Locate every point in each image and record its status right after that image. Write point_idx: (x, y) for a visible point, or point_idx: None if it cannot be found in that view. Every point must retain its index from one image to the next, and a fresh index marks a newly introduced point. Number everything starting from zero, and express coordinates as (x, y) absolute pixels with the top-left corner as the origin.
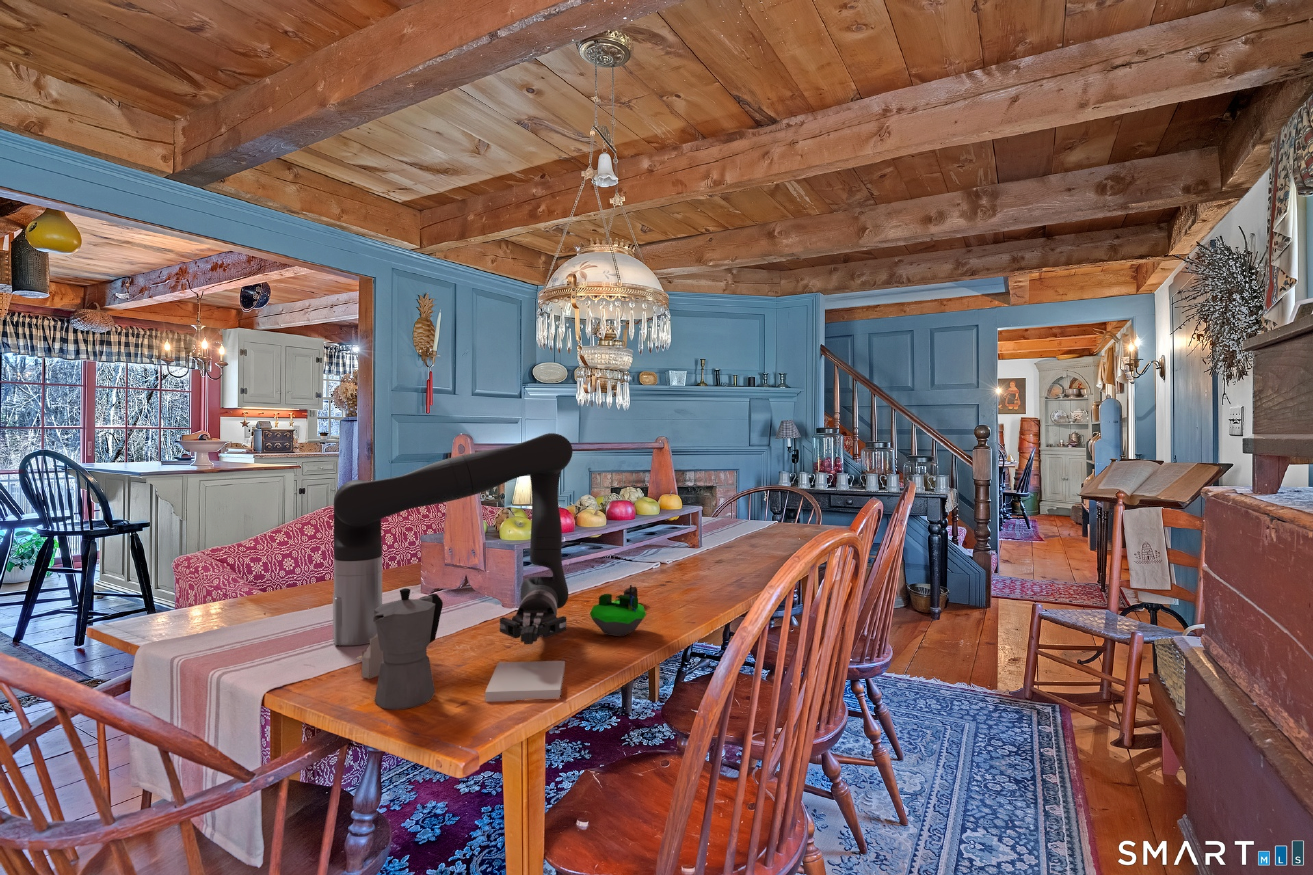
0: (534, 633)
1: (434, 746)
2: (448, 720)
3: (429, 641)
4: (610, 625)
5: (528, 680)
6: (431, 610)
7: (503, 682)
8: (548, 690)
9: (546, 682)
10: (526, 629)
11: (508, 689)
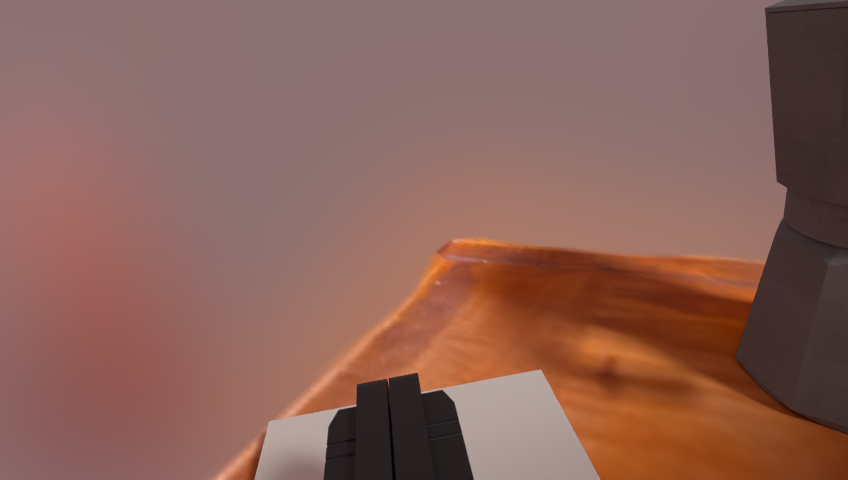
0: (345, 409)
1: (533, 254)
2: (576, 309)
3: (832, 193)
4: None
5: None
6: (800, 24)
7: (512, 444)
8: (312, 413)
9: (320, 472)
10: (412, 415)
11: (463, 395)
